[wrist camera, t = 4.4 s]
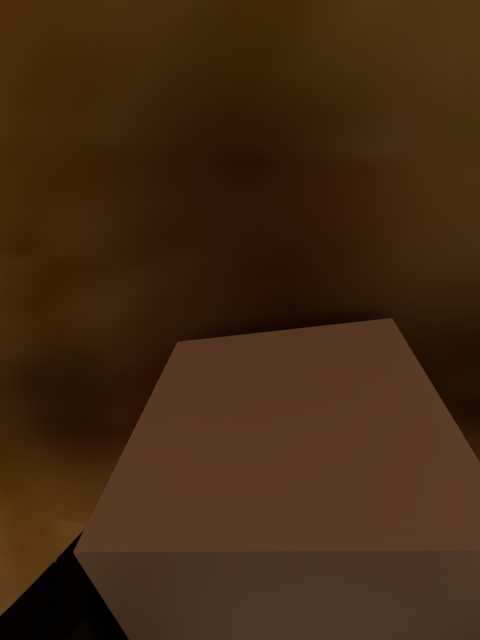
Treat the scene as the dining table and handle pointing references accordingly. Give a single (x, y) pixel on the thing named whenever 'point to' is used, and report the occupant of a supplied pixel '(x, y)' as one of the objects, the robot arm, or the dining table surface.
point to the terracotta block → (292, 496)
